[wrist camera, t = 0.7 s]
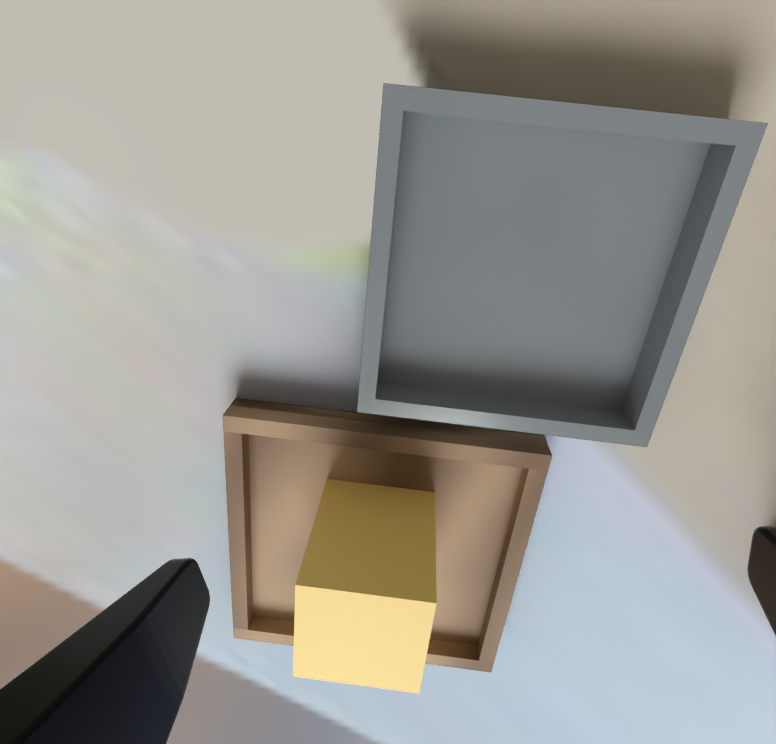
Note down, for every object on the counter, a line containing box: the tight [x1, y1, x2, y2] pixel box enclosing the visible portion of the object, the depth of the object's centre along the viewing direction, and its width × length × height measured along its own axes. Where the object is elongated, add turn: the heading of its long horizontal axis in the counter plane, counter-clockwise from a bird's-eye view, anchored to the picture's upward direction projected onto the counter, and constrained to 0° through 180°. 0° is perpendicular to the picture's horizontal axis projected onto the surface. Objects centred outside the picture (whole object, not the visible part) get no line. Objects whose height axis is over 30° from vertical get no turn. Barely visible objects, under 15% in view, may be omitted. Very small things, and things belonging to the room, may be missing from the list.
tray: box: [223, 398, 552, 672], centre depth 22 cm, size 12×12×1 cm
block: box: [293, 479, 437, 693], centre depth 20 cm, size 4×4×6 cm
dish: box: [357, 83, 768, 447], centre depth 17 cm, size 10×10×2 cm
